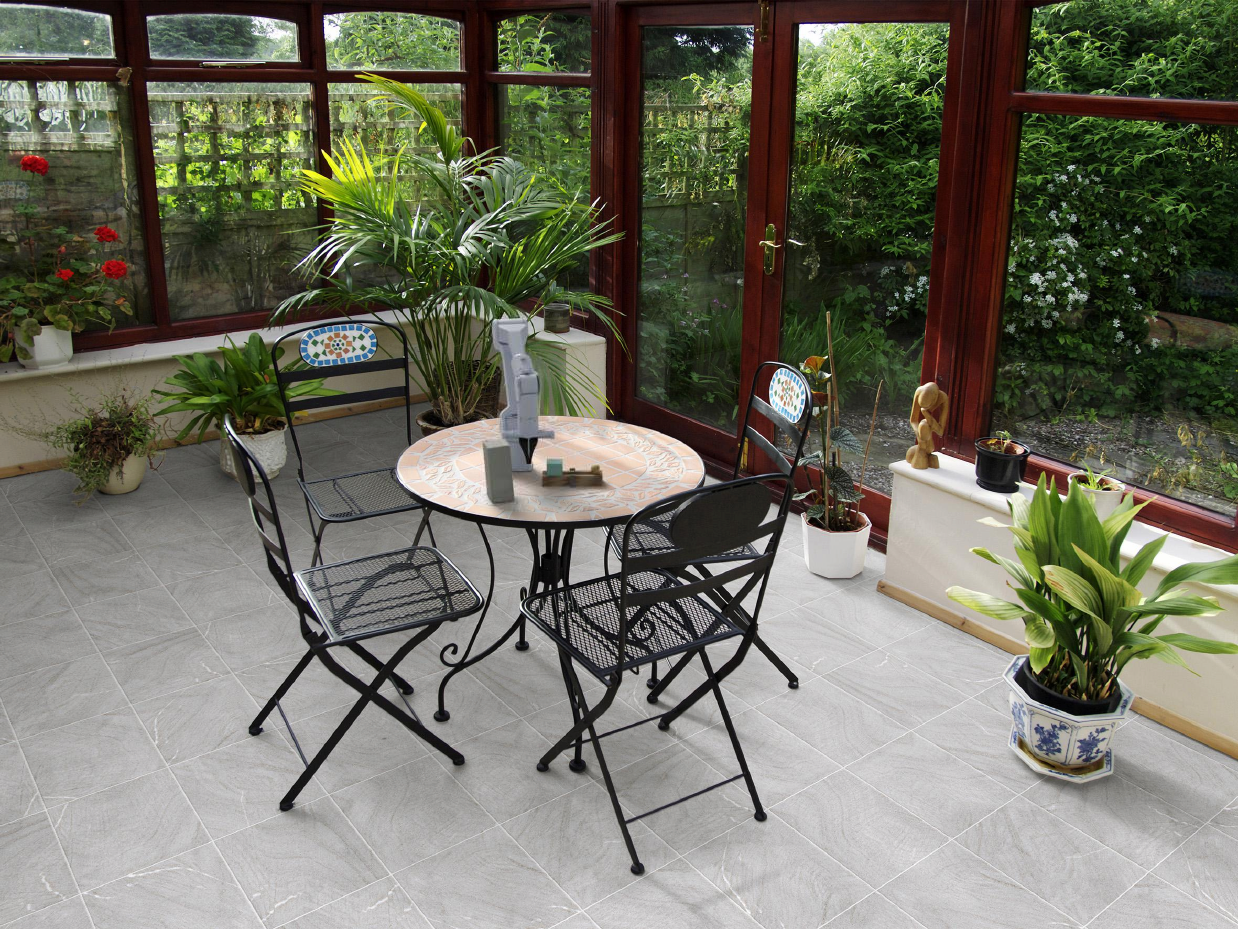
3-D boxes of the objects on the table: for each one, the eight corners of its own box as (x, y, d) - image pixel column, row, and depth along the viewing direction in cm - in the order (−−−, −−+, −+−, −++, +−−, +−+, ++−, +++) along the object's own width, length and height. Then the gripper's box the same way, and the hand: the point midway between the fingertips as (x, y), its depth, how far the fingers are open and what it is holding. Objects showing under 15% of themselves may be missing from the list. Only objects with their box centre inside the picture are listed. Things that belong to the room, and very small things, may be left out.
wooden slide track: (542, 487, 310) (541, 470, 308) (542, 479, 316) (542, 462, 315) (602, 486, 311) (602, 469, 309) (602, 479, 317) (602, 462, 315)
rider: (546, 480, 311) (546, 463, 309) (547, 475, 315) (546, 458, 313) (562, 480, 311) (562, 463, 309) (562, 475, 315) (562, 458, 313)
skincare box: (515, 501, 299) (513, 445, 294) (488, 504, 297) (487, 447, 292) (509, 491, 307) (507, 436, 302) (483, 493, 305) (481, 438, 300)
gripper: (500, 420, 303) (502, 467, 307) (553, 420, 303) (554, 467, 307) (502, 413, 309) (503, 460, 314) (554, 413, 310) (555, 459, 314)
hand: (529, 463), depth 311 cm, fingers closed
